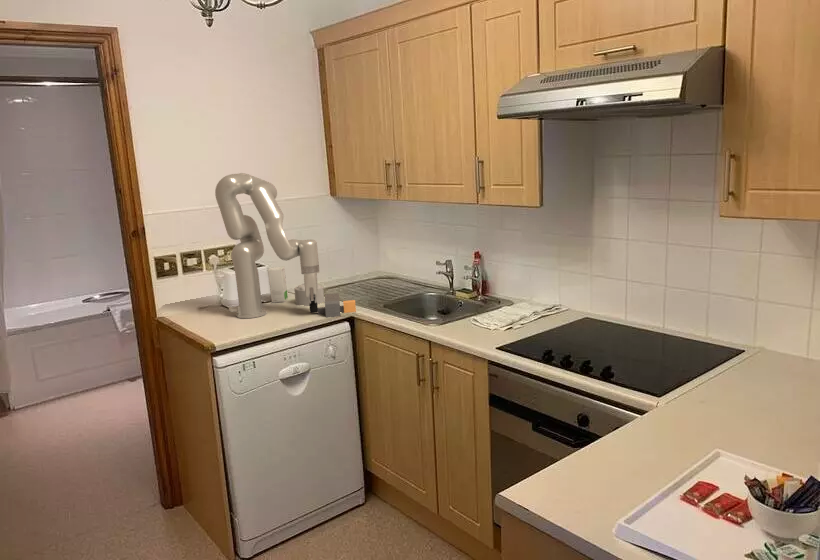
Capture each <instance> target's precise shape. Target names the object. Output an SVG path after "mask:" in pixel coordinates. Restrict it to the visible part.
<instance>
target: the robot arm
mask: <svg viewBox="0 0 820 560" xmlns="http://www.w3.org/2000/svg"><path fill="white" fill-rule="evenodd" d="M242 194H245V195H247V196H250V199H251V201H252V203H253V205H254V206H255V208H256V210H257V211H258V213H259V215H260V217H261V219H262V221H263V223H264V225H265V232H266V237H267V240H268V242H269V245H270V246H271V248H272V250H273V251H274V253H275V255H276V256H277V257H278V258H279V259H280V260H282V261H291V260H293V259H295V258H297V257H299V262H300V273H301V275H303V280H304V281H303V282H304V283H303V284H304V285H305V297H306V298H307V297H308V296H309V301H310V303H309V305H310V306H309V313H311V314H313V313H318V308H319V307H318V305H317V301H316V297H317V293H318V285H319V283H318V274H319V273H320V264H319V251H318V244H317V243H318V242H317V240H315V239H303V240H302V239H294V238H293V239H289V240H288V237H287V236H286V234H285V231H284V229H283V221H284V213H283V211H282V209H281V207H280V206H279V204H278V202H277V200H276V199H277V196H278V190H277V188H276V186H275V185H274V184H273V183H271V182H269V181H267V180H264V179H261V178H258V177H256V176H253V175H252V174H248V173H243V172H240V173H239V172H238V173H231V174H227V175H225V176H223V177H222V178H221V179H220V180H219V181H218V182H217V184H216V186H215V193H214V195H215V199H216V200H215V201H216V202H217V205H218V208H219V211H220V214H221V218H222V222H223V223H224V227H225V229H226V230H225V231H226V234H227V235H228V237H229V238H230V239H232V240H234V241H236V240H237V241H240V242H239V243H238V244H236V245H234V247H233V248H232V250H231V255H230V256H231V261H232V264H233V269H234V274H235V281H236V291H237V298H238V299H237V300H238V305H237V306H231V307H228V310H229V311H228V312H231V313H236V317H237V318H238V319H255V318H258V317H263V316H266V314H267V310H266V309H265V308H263V304H262V303H263V302H262V293H261V284H260V275H259V269H258V266H257V263H256V262H257V261H258V260H260V259H261V258H262V257H263V255H264V254H265V253H264V252H265V248H264V243H263V239H262V236H261V233H260V229H259V227H258V224H257V222H256V221H255V219H254V218H253V217H252V216H250V215H247V214H244V213H243V210H242V207H241V204H240V202H239V200H238V198H237V195H242Z"/></svg>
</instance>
